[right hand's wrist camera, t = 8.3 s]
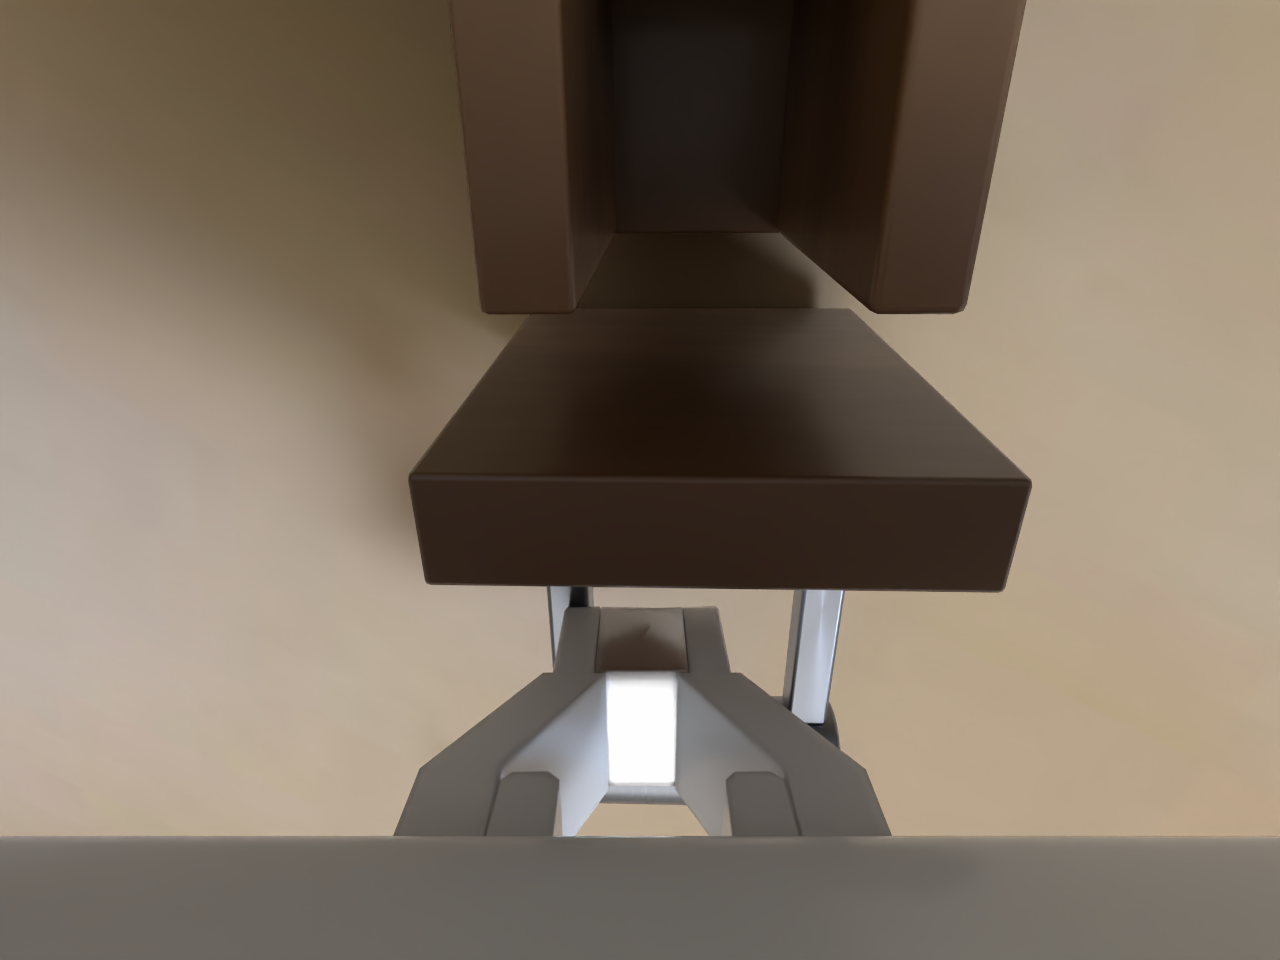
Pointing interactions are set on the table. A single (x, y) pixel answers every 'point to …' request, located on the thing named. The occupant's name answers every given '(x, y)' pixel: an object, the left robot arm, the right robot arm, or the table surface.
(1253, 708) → the table surface
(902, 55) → the drawer
